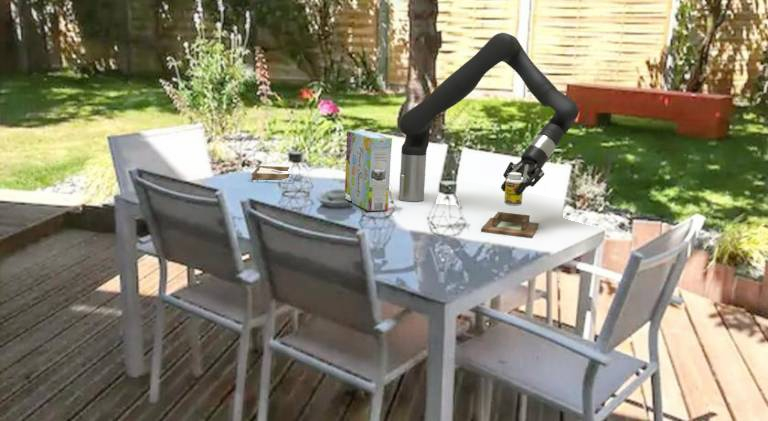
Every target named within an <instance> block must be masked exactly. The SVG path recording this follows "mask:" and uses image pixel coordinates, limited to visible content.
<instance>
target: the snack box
mask: <svg viewBox="0 0 768 421" xmlns="http://www.w3.org/2000/svg"><path fill="white" fill-rule="evenodd" d="M392 143H393V138H392V137H390V136H386V135H383V134H380V133H375V132H373V131H368V130H347V131H346V150H345V151H346V154H345V156H346V157H345V178H344V179H345V180H344V181H345V182H344V193H345V192H346V193H347V194H348V195H350V197H351V201H352V203H351V204H353V205H356V206H358V207H359V208H362V209H363V210H365V211H368V212H382V211H388V210H389V196H390V195H389V193H390V192H389V191H390V178H391V176H390V175H391V174H390V173H391V161H392V160H391V159H392V155H391V154H392ZM374 169H380V170H386V181H375V180H373V179H372V178H371V171H372V170H374Z"/></svg>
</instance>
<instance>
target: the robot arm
mask: <svg viewBox="0 0 768 421" xmlns="http://www.w3.org/2000/svg"><path fill="white" fill-rule="evenodd" d="M501 62H503V63H505V64H507V65H508V66H509V68H511V69H512V70H513V71H514V72H516V73H517V75H518V76H519V77H520V78H521V80H522V81H523V83H524V85H525V86H526V88H527V89H528V90H529V92H530V93H531V94H532V96H534V98H535V99H536V100H537V101H538V102H539V104H541V105H542V106H543V107H545V108H548V107H550V108H551V109H552V110H554V114H553V115H552V117H551V118H550V120H549V121H548V123H546V125H544V126H543V128H541V129H540V132H538V134H537V135H536V137H535V138H533V140H532V141H531V142H530V144H529V145H528V146H527V148H526V149H525V150H524V152H523V153H522V155H521V157H520V161H518V162H517V163H513V162H512V161H510V162H509V163H508V166H507V168H506V169H505V170H504V173H503V177H504V178H505V180H504V181H503V182H502V184H501V186H500V189H501V190H502V192H505V186H506V179H508V178H509V173H510V172H517V173H521V174H522V175H521V178H522V180H523V181H522V182H523V183H522V182H521V183H520V184H519V186H518V187H517V189H516V190H515V193H516V194H517V195H520V194H522V195H523V193H524V191H525V190H526V188H528V187H532V188H533V187H534V186H536V184H537V183H538V182H539V181H540V180H541V179H542V177H544V175H545V172H544V170H543V169H542V168H543V167H544V165H545V164H546V162H548V160H549V159H550V157H552V154H553V152H554V151H555V149H556V148H557V146H558V145H559V143H560V142H561V140H562V138H563V137H564V136H565V135H566V133H568V131H569V130H570V128H571V127H572V126H573V125H574V123H575V122H576V120H577V118H578V116H579V106H577V104H576V102H575V101H574V100H573V99H572V98H570V97H569V96H567V95H566V94H564V93H563V92H561V91H560V90H558V89H557V87H556V86H555V85H554V84H553V83H552V82H551V81H550V79H549V78H548V77H547V76H546V75H545V74H544V73H543V72H542V71H541V70H540V69H539V68H538V67H537V66H536V64H534V62H533V61H532V60H531V59H530V57H529V56H528V54H527V52H526V51H525V50H524V48H523V47H522V44H521V43H520V41H519V40H518V38H517V37H516V36H514V35H511V34H510V33H507V32H499V33H497V34H495V35H493V36H492V37H490V39H489V40H488V41H487V42H486V43H485V45H483V46H482V47H481V48H480V50H478V51H477V53H476V54H474V55H473V56H472V57H471V58H470V59H469V60H467V61H466V62H465V63H464V64H462V65H461V66H460V67H459V68H458V69H456V70H455V71H454V72H452V74H450V75H449V76H448V77H447V78H446V79H445V80H443V81H442V82H441V83H440V84H439V85H438V86H437V87H436V88H435V89H434V90H433V91H432V92H431V93H429V95H428V96H427V97H426V98H425V99H424V100H422V101H421V102H419V103H418V104H417V105H415V106H414V107H412V108H410V109H409V110H408V111H407V112H405V113H404V114H403V115H402V116H401V117H400V120H399V129H400V131H401V132H402V133H403V134H404V135H405V139H404V142H403V144H402V146H401V154H400V172H399V173H400V174H399V188H398V189H399V192H398V199H399V201H405V202H422V201H424V200H423V199H425V183H426V182H425V181H426V180H425V179H426V165H427V164H426V163H427V150H428V147H429V143H430V142H429V141H430V132H431V121H433V120H434V119H435V118H436V117H437V116H439V115H440V114H442V113H443V112H445V111H448V110H449V109H450V108H452V107H454V106H456V105H457V104H459V103H460V102H461V101H462V100H464V99H465V98H466V97H468V96H469V94H471V93H472V92H473V91H474V89H475V88H476V87H477V86H478V84H479V83H480V81H481V79H483V77H484V76H485V75H486V74H487V73H488V72H489V71H490V70H492V69H493V68H494V67H495V66H497V65H498V64H499V63H501ZM421 200H422V201H421Z"/></svg>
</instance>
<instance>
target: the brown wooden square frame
mask: <svg viewBox="0 0 768 421" xmlns="http://www.w3.org/2000/svg"><path fill="white" fill-rule="evenodd" d="M530 216H531V215H529V214H521V213H520V214H519V213H513V212H503V211H497V213H495V215H493V217H490V218H489V219H488V220H487V222H485V224H484V225H483V226H482V228H481V229H480V233H486V234H487V233H489V234H497V235H504V236H513V237H521V238H526V239H527V238H529V239H532V238H533V237H534V235H535V234H536V231H537V229H538V228H539V225H540V224H539V222H537V223H536V222H531V221H530V219H531V218H530Z"/></svg>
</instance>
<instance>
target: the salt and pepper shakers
mask: <svg viewBox="0 0 768 421" xmlns="http://www.w3.org/2000/svg"><path fill="white" fill-rule="evenodd" d="M257 173H271V174H281V173H283V172H281V171H278V170H275V169H268V168H262V167H260V169H259V171H257Z"/></svg>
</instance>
